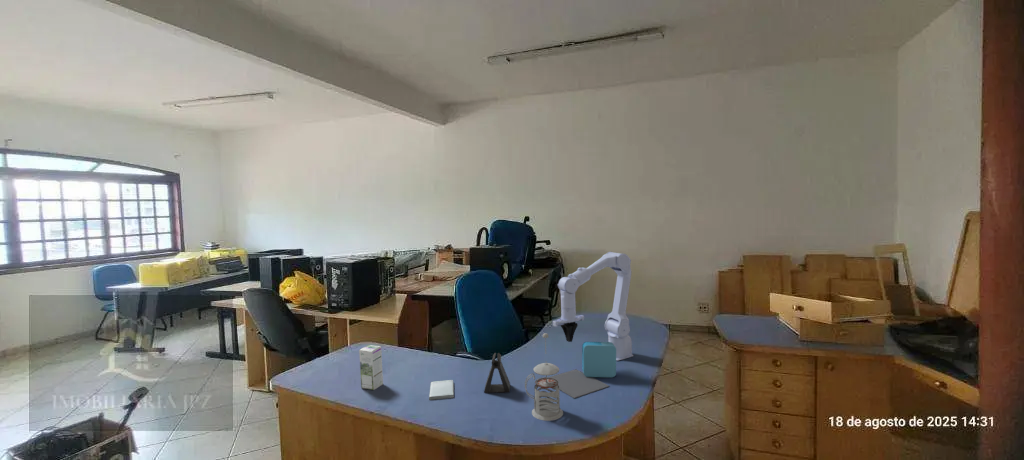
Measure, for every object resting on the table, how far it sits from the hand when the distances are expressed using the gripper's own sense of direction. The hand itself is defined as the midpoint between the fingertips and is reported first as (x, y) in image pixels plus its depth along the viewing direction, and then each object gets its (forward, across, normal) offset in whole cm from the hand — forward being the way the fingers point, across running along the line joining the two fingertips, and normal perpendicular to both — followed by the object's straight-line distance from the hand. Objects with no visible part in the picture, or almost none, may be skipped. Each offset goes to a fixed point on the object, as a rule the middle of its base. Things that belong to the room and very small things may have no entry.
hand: (569, 341), depth 161 cm
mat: (+10, +9, +13) cm, 19 cm away
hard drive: (+10, +51, -9) cm, 53 cm away
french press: (+10, +30, +24) cm, 40 cm away
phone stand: (+10, +34, +1) cm, 36 cm away
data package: (+10, -3, +13) cm, 17 cm away
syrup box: (+10, +71, -27) cm, 77 cm away
